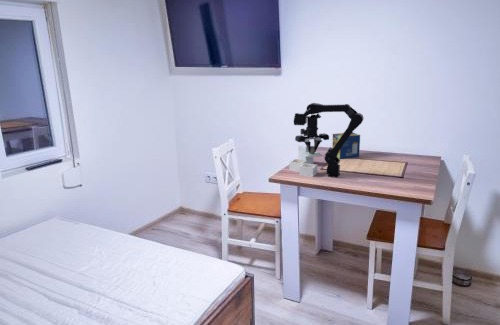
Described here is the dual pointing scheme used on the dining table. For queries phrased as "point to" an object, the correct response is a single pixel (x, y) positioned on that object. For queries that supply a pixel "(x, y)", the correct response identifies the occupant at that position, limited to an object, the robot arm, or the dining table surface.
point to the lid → (312, 152)
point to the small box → (302, 157)
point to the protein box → (348, 146)
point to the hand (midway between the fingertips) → (312, 152)
